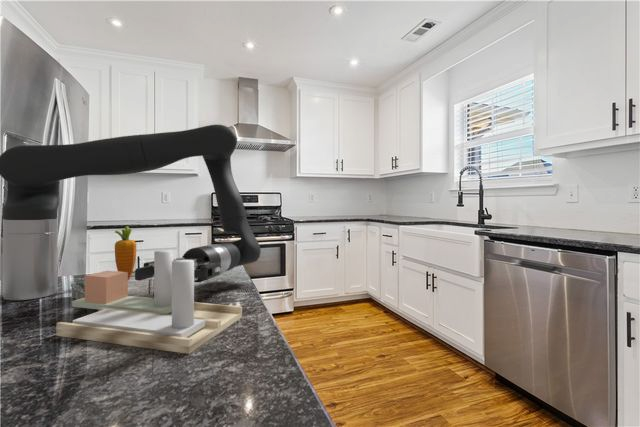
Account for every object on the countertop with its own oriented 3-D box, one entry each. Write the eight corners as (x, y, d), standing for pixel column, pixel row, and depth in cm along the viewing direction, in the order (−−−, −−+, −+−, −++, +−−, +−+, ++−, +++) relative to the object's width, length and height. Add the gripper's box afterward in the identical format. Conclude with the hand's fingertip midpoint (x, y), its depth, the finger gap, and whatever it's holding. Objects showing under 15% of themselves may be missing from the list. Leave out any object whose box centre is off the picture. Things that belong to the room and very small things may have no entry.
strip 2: (71, 306, 63) (71, 249, 62) (99, 298, 69) (99, 245, 68) (161, 316, 58) (161, 254, 58) (183, 306, 64) (183, 249, 64)
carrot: (126, 285, 85) (126, 227, 84) (109, 284, 86) (110, 226, 85) (140, 281, 89) (140, 226, 89) (124, 280, 90) (124, 225, 90)
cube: (84, 301, 63) (84, 275, 62) (107, 294, 67) (107, 270, 67) (106, 303, 61) (106, 277, 61) (127, 296, 66) (127, 272, 66)
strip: (72, 326, 53) (72, 258, 52) (105, 314, 58) (105, 253, 58) (181, 340, 48) (181, 265, 48) (205, 325, 54) (205, 258, 53)
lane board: (56, 335, 52) (56, 323, 52) (135, 306, 68) (135, 296, 68) (189, 353, 46) (189, 339, 46) (241, 317, 62) (242, 306, 62)
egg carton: (120, 300, 72) (120, 282, 72) (78, 307, 67) (78, 287, 67) (107, 291, 80) (107, 274, 80) (68, 297, 74) (68, 279, 74)
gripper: (180, 244, 77) (123, 253, 61) (235, 247, 73) (191, 257, 58) (180, 276, 77) (123, 294, 61) (235, 280, 74) (190, 300, 58)
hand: (156, 276), depth 59 cm, fingers open, 8 cm apart
